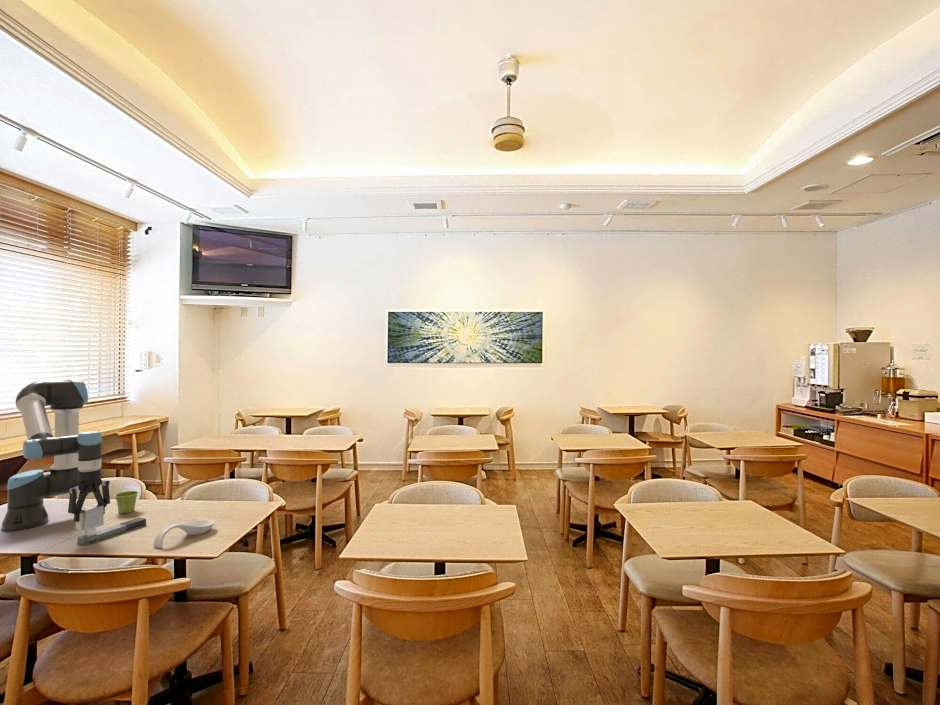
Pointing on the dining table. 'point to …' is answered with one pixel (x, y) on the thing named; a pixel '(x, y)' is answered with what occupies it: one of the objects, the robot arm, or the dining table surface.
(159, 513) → the dining table surface
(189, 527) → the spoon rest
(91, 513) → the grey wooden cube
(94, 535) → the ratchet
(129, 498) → the plant pot
